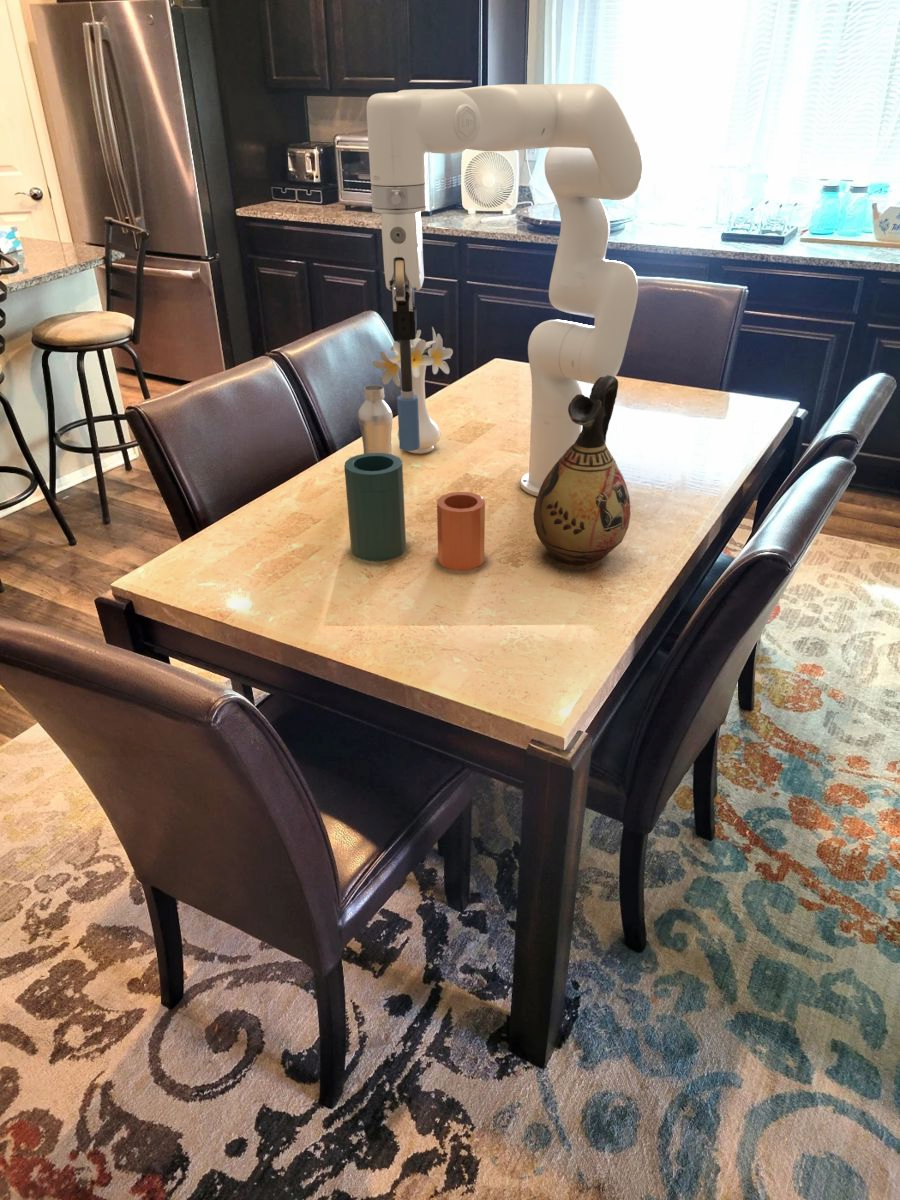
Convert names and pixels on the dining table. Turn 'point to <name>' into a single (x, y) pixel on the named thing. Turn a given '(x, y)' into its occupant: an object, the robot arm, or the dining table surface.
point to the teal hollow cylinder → (376, 506)
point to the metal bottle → (375, 421)
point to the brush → (407, 403)
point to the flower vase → (419, 380)
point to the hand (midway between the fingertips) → (405, 336)
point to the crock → (461, 530)
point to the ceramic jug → (585, 488)
